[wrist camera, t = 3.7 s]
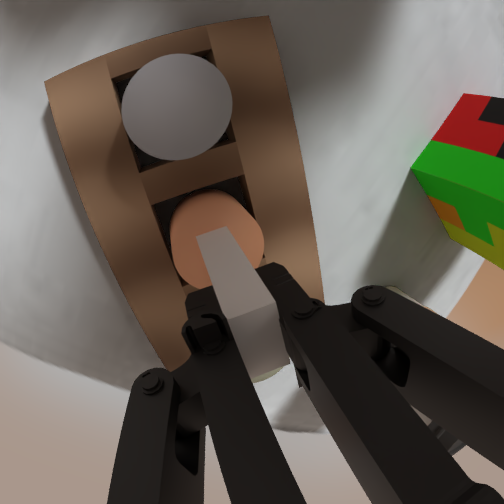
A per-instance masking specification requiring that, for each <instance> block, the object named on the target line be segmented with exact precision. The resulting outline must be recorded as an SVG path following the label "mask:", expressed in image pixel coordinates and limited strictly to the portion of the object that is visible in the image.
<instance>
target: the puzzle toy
mask: <svg viewBox="0 0 504 504" xmlns="http://www.w3.org/2000/svg"><path fill="white" fill-rule="evenodd" d="M411 170H412V171H413V173H414V174H415V176H416V178H417V179H418V181H419V183H420V184H421V186H422V188H423V189H424V191H425V193H426V194H427V196H428V198H429V199H430V201H431V203H432V205H433V207H434V208H435V210H436V212H437V214H438V216H439V217H440V219H441V221H442V223H443V225H444V227H445V229H446V231H447V233H448V235H449V237H450V238H451V239H452V240H454V241H456V242H458V243H459V244H461V245H463V246H465V247H466V248H468V249H470V250H472V251H473V252H475V253H477V254H478V255H480V256H482V257H483V258H485V259H487V260H488V261H490V262H492V263H493V264H495V265H497V266H498V267H500V268H501V269H503V270H504V98H497V97H490V96H482V95H474V94H465V93H464V94H463V95H462V97H461V98H460V100H459V101H458V103H457V104H456V106H455V107H454V108H453V110H452V111H451V113H450V114H449V116H448V117H447V118H446V120H445V121H444V123H443V124H442V126H441V127H440V128H439V130H438V131H437V133H436V134H435V135H434V137H433V138H432V139H431V141H430V142H429V144H428V145H427V146H426V148H425V149H424V150H423V152H422V153H421V154H420V156H419V157H418V158H417V160H416V161H415V162H414V164H413V165H412V166H411Z"/></svg>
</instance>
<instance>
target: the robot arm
mask: <svg viewBox="0 0 504 504" xmlns="http://www.w3.org/2000/svg"><path fill="white" fill-rule="evenodd" d="M196 239H197V242H198V245H199V248H200V251H201V254H202V257H203V259H204V262H205V265H206V268H207V271H208V274H209V276H210V279H211V282H212V285H211V286H208V287H205V288H202V289H200V290H197V291H194V292H191V293H188V295H187V298H186V300H185V307H186V312H187V317H188V320H187V321H186V322H185V324H184V325H183V327H182V331H181V334H182V336H183V338H184V340H185V342H186V344H187V346H188V348H189V350H190V352H191V356H190V357H189V359H188V360H187V361H186V362H185V363H184V364H182V365H181V366H180V367H178V368H177V369H175V370H173V371H172V372H170V371H168V370H166V369H164V368H153V369H150V370H147V371H145V372H144V373H142V374H140V376H139V377H138V378H137V379H136V380H135V381H134V384H133V386H132V389H131V393H130V397H129V401H128V405H127V409H126V413H125V417H124V421H123V426H122V430H121V435H120V439H119V444H118V448H117V453H116V458H115V463H114V468H113V473H112V479H111V484H110V489H109V495H108V501H107V504H204V466H205V464H204V463H205V436H206V435H205V434H206V428H205V426H207V425H209V429H210V432H211V436H212V440H213V444H214V448H215V451H216V455H217V458H218V461H219V465H220V468H221V472H222V475H223V478H224V482H225V485H226V488H227V491H228V494H229V497H230V501H231V504H307V503H306V501H305V499H304V497H303V495H302V493H301V491H300V489H299V487H298V485H297V482H296V480H295V478H294V476H293V475H292V472H291V470H290V468H289V465H288V463H287V461H286V459H285V457H284V455H283V452H282V450H281V448H280V446H279V443H278V441H277V439H276V437H275V435H274V432H273V430H272V428H271V425H270V423H269V421H268V419H267V416H266V414H265V412H264V409H263V407H262V405H261V402H260V400H259V398H258V395H257V393H256V391H255V388H254V386H253V383H252V381H251V379H252V378H255V377H257V376H260V375H262V374H265V373H268V372H270V371H273V370H275V369H278V368H280V367H283V366H285V365H288V364H290V359H289V356H290V358H291V360H292V362H293V363H294V367H295V372H296V376H297V380H298V385H299V388H300V387H302V385H303V387H304V389H305V391H306V392H307V394H308V396H309V398H310V399H311V401H312V403H313V404H314V406H315V408H316V410H317V411H318V413H319V415H320V417H321V418H322V420H323V422H324V424H325V425H326V427H327V429H328V430H329V432H330V434H331V436H332V437H333V439H334V441H335V442H336V444H337V446H338V448H339V449H340V451H341V453H342V454H343V456H344V457H345V459H346V461H347V463H348V464H349V466H350V468H351V469H352V471H353V473H354V475H355V476H356V478H357V479H358V481H359V483H360V485H361V486H362V488H363V489H364V491H365V493H366V495H367V496H368V498H369V500H370V501H371V503H372V504H504V499H503V498H502V497H501V495H500V494H499V493H498V492H497V491H496V490H495V489H494V488H492V487H490V486H488V485H486V484H479V483H475V482H474V481H472V480H471V479H470V478H469V477H468V476H467V475H466V473H465V472H464V471H463V470H462V469H461V467H460V466H459V465H458V463H457V462H456V461H455V460H454V458H453V457H452V456H451V455H450V453H449V452H448V451H447V450H446V448H445V447H444V446H443V445H442V443H441V442H440V441H439V440H438V438H437V437H436V436H435V435H434V433H433V432H432V431H431V430H430V429H429V427H428V426H427V425H426V424H425V422H424V421H423V420H422V419H421V418H420V416H419V415H418V414H417V413H416V411H415V410H414V409H413V408H412V407H414V408H415V409H417V410H418V411H419V412H421V413H422V414H424V415H425V416H426V417H428V418H429V419H431V420H432V421H433V422H435V423H436V424H438V425H439V426H440V427H442V428H443V429H445V430H446V431H447V432H449V433H450V434H452V435H453V436H455V437H456V438H457V439H459V440H460V441H462V442H463V443H465V444H466V445H468V446H469V447H470V448H472V449H474V450H475V451H477V452H478V453H479V454H481V455H482V456H484V457H485V458H487V459H488V460H489V461H491V462H492V463H494V464H495V465H497V466H498V467H500V468H501V469H503V470H504V350H503V349H501V348H499V347H498V346H496V345H494V344H492V343H490V342H489V341H487V340H485V339H483V338H481V337H479V336H478V335H476V334H474V333H472V332H470V331H468V330H466V329H465V328H463V327H461V326H459V325H457V324H455V323H453V322H451V321H450V320H448V319H446V318H444V317H442V316H440V315H438V314H436V313H434V312H432V311H431V310H429V309H427V308H425V307H423V306H421V305H419V304H417V303H415V302H413V301H411V300H409V299H407V298H405V297H403V296H401V295H400V294H398V293H396V292H394V291H392V290H390V289H388V288H385V287H382V286H378V285H370V286H365V287H362V288H360V289H358V290H357V291H356V292H355V293H354V294H353V296H352V299H351V303H346V304H341V305H333V306H328V305H325V304H324V303H323V302H322V301H320V300H319V299H315V298H310V297H309V296H308V295H307V293H306V292H305V291H304V290H303V289H302V287H301V286H300V285H299V284H298V283H297V281H296V280H295V279H294V278H293V277H292V275H291V274H289V272H288V271H287V269H286V268H285V267H284V266H283V265H280V264H278V263H275V262H272V263H269V264H266V265H264V266H261V267H258V268H255V269H254V268H253V266H252V265H251V263H250V261H249V260H248V258H247V257H246V255H245V254H244V252H243V251H242V249H241V248H240V246H239V245H238V243H237V241H236V240H235V238H234V237H233V235H232V234H231V232H230V231H229V229H228V228H227V226H225V227H222V228H219V229H216V230H213V231H210V232H207V233H204V234H201V235H198V236H196ZM411 406H412V407H411Z"/></svg>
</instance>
